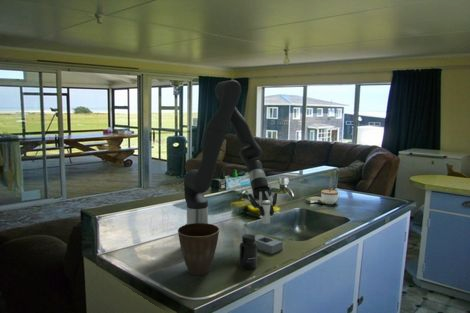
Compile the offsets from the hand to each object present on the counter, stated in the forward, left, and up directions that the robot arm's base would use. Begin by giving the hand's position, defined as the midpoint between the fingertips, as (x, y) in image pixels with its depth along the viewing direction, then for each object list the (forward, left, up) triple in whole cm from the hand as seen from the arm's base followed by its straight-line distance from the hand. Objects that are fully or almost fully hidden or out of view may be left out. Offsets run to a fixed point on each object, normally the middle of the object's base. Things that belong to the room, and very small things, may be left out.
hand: (267, 214), depth 153 cm
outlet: (+1, +2, -15) cm, 15 cm away
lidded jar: (+91, +22, -15) cm, 95 cm away
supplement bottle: (-19, -6, -15) cm, 25 cm away
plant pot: (-35, +4, -15) cm, 38 cm away
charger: (+1, +2, -4) cm, 4 cm away
